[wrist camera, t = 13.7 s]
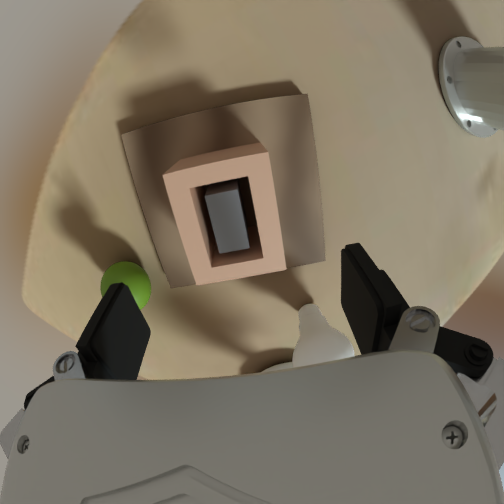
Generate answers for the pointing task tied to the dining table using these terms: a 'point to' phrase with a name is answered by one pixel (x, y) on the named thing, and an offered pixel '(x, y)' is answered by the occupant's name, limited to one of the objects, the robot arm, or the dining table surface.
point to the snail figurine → (128, 280)
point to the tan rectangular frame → (199, 223)
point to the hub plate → (224, 134)
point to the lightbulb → (318, 339)
